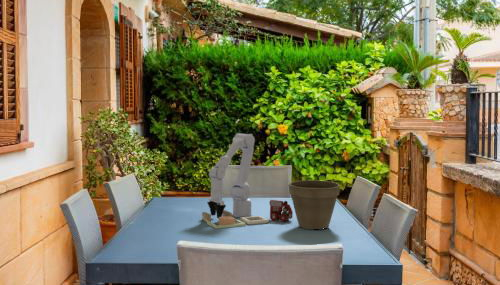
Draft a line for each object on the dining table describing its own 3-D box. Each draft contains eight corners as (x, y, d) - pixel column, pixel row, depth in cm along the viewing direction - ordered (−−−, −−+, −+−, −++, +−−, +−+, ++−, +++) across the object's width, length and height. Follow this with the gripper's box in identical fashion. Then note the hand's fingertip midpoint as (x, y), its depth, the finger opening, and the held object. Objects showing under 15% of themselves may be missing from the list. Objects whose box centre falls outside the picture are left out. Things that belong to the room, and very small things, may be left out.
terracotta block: (229, 223, 279) (229, 216, 279) (234, 226, 274) (234, 218, 274) (218, 224, 276) (218, 217, 276) (223, 227, 271) (223, 219, 271)
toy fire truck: (289, 222, 284) (290, 202, 283) (267, 220, 289) (267, 200, 288) (293, 220, 291) (294, 200, 290) (271, 217, 295) (271, 198, 294)
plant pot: (305, 235, 258) (306, 188, 257) (278, 224, 280) (279, 181, 279) (348, 230, 270) (350, 185, 268) (319, 220, 292) (321, 179, 290)
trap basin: (259, 219, 291) (259, 215, 290) (268, 223, 282) (268, 219, 282) (240, 220, 286) (240, 217, 285) (249, 224, 277) (249, 221, 277)
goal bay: (235, 221, 284) (235, 219, 284) (245, 225, 275) (245, 223, 275) (206, 223, 277) (206, 221, 277) (215, 228, 267) (215, 226, 267)
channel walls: (224, 217, 293) (225, 210, 292) (231, 220, 285) (231, 213, 285) (202, 219, 287) (202, 212, 286) (208, 222, 280) (208, 215, 279)
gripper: (203, 188, 290) (203, 214, 291) (215, 193, 277) (214, 220, 278) (216, 188, 293) (215, 213, 294) (228, 192, 281) (227, 218, 282)
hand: (216, 216), depth 287 cm, fingers open, 7 cm apart
